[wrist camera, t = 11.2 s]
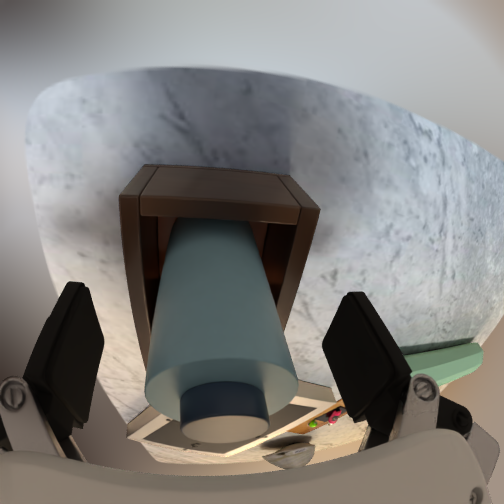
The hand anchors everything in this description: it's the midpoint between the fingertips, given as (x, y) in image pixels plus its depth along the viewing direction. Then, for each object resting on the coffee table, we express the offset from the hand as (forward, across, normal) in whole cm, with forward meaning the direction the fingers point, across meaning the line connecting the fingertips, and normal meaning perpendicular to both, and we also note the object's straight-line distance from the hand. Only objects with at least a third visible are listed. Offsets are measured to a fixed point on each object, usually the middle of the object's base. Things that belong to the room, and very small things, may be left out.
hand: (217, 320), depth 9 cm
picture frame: (+7, -2, +23) cm, 24 cm away
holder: (+6, 0, +3) cm, 7 cm away
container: (+7, -29, +16) cm, 34 cm away
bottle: (+6, 0, 0) cm, 6 cm away
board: (+7, -17, +27) cm, 33 cm away
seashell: (+7, -15, +39) cm, 43 cm away
